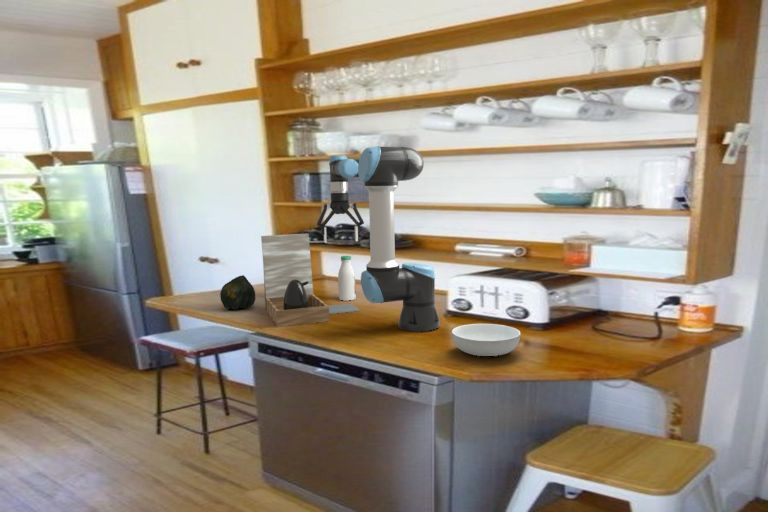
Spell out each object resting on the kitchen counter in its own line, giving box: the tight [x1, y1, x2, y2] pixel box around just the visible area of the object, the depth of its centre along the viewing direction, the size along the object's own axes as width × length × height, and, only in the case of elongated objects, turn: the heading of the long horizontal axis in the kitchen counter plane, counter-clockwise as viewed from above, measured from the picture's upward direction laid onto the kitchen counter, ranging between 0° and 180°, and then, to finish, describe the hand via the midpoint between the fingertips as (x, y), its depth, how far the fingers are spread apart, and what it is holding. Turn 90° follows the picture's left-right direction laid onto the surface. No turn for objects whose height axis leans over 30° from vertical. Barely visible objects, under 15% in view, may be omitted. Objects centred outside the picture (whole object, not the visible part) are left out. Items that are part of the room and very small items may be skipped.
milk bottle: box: [337, 255, 357, 302], centre depth 254 cm, size 8×8×20 cm
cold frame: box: [260, 233, 330, 328], centre depth 225 cm, size 32×20×32 cm, turn 21°
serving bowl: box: [451, 323, 521, 357], centre depth 172 cm, size 21×21×7 cm
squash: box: [219, 274, 256, 310], centre depth 242 cm, size 14×15×15 cm
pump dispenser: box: [283, 279, 309, 310], centre depth 224 cm, size 10×10×15 cm
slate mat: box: [327, 302, 361, 315], centre depth 236 cm, size 14×14×1 cm
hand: (341, 241), depth 241 cm, fingers open, 13 cm apart
